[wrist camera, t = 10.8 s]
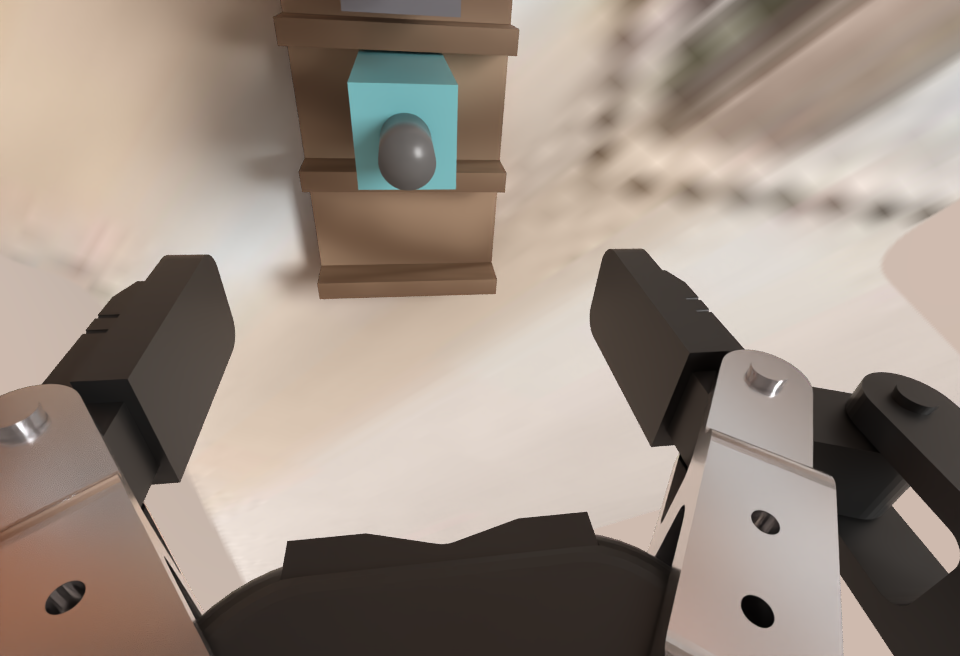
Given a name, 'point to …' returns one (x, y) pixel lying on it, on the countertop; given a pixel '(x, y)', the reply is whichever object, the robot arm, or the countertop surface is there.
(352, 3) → the charcoal plug
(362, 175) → the teal plug
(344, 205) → the wooden slotted rack
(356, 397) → the countertop surface
